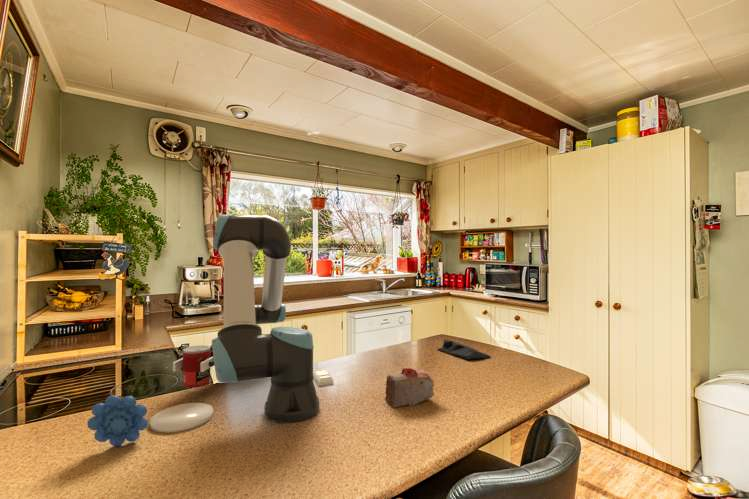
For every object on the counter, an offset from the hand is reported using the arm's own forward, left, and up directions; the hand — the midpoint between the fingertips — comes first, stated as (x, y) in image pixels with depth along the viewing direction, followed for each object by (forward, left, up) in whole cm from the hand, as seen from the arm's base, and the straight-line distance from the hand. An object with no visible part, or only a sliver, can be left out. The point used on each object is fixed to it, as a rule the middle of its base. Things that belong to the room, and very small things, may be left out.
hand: (187, 367), depth 108 cm
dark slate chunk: (-55, -94, -11) cm, 109 cm away
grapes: (-10, +23, -11) cm, 27 cm away
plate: (-9, +7, -11) cm, 16 cm away
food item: (-57, -35, -11) cm, 68 cm away
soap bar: (-23, -35, -11) cm, 43 cm away
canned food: (+2, -4, -7) cm, 8 cm away
